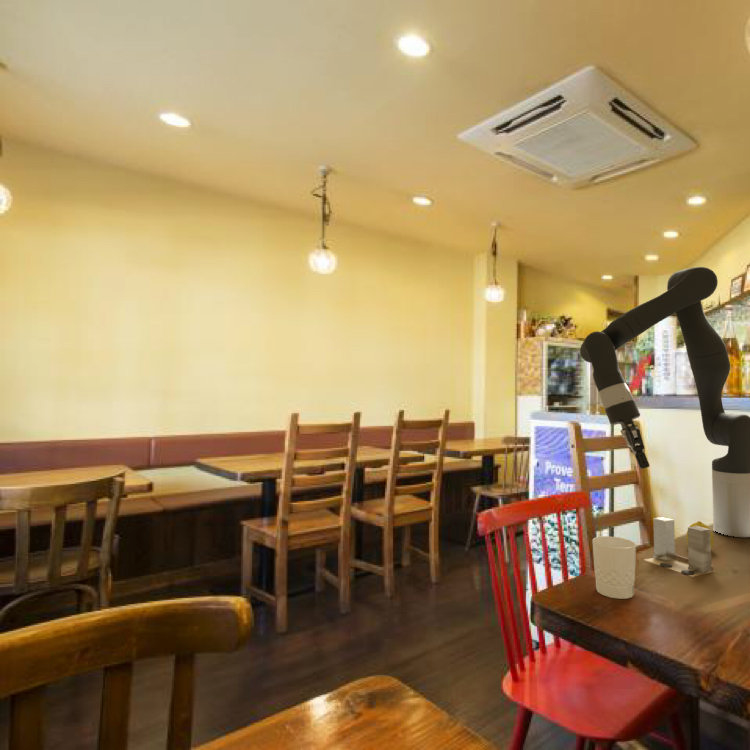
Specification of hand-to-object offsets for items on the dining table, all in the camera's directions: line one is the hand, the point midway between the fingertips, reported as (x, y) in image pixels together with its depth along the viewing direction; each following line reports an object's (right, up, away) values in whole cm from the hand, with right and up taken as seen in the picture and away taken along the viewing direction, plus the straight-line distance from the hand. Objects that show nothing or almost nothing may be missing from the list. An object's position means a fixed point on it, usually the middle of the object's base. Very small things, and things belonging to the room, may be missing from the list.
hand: (645, 467), depth 130 cm
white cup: (-21, -20, -28) cm, 40 cm away
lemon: (+11, -20, -5) cm, 24 cm away
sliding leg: (-2, -19, -12) cm, 22 cm away
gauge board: (-1, -20, -16) cm, 26 cm away
